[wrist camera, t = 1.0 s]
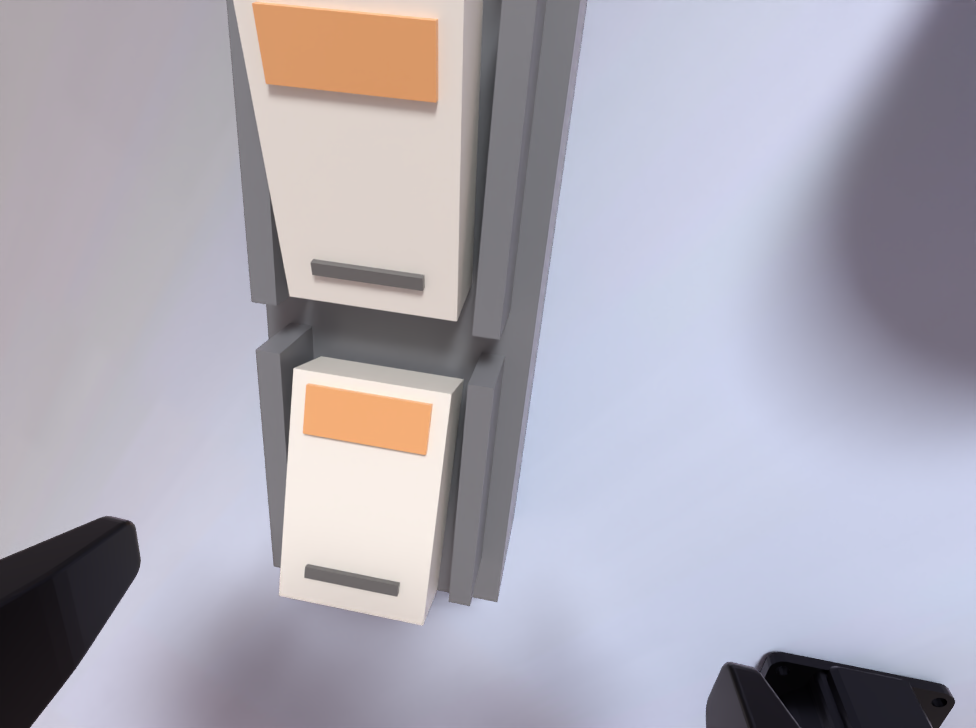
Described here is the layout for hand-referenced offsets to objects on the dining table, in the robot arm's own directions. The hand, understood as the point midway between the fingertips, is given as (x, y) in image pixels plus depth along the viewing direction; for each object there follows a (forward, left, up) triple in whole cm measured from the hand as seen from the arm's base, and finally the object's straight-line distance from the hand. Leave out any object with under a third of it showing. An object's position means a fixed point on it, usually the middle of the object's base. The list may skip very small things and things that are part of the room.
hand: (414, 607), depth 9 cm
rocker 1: (-3, +3, -6) cm, 7 cm away
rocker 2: (+5, +3, -6) cm, 8 cm away
